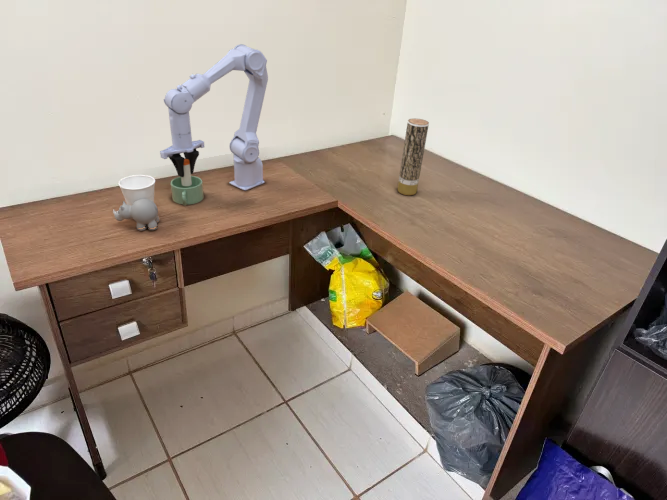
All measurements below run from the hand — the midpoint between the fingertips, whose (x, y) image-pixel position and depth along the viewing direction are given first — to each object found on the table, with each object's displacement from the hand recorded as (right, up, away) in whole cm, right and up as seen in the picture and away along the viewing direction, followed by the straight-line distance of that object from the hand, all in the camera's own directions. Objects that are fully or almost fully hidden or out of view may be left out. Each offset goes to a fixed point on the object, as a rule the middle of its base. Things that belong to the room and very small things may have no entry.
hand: (185, 174), depth 149 cm
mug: (0, -7, +3) cm, 8 cm away
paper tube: (+72, -3, +19) cm, 74 cm away
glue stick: (0, -3, +2) cm, 3 cm away
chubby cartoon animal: (-10, -17, -12) cm, 23 cm away
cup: (-10, -14, -7) cm, 19 cm away
